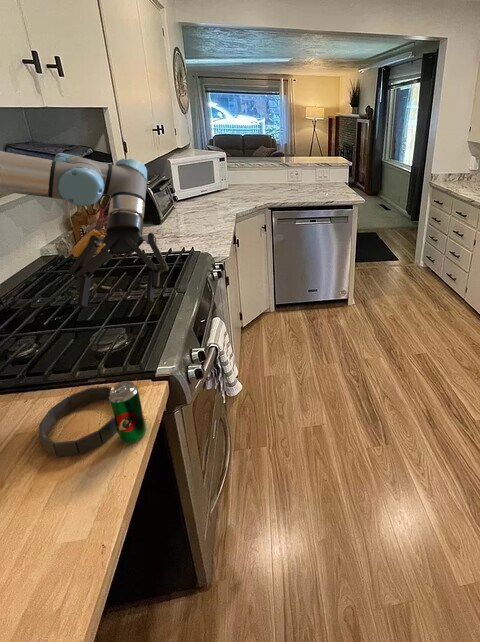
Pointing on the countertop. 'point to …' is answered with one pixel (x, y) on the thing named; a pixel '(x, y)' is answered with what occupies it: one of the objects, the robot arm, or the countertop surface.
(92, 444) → the gray segmented ring
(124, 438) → the soda can
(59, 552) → the countertop surface
